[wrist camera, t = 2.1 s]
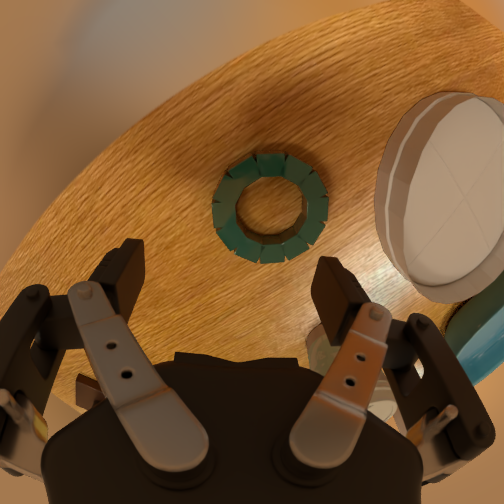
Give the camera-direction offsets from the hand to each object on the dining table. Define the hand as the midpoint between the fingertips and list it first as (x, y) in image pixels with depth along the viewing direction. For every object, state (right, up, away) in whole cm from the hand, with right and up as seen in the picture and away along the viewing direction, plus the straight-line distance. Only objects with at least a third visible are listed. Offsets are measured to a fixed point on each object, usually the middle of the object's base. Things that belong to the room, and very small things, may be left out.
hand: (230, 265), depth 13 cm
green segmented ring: (+2, +5, +11) cm, 12 cm away
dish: (+23, +7, +12) cm, 27 cm away
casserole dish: (+44, -7, +21) cm, 49 cm away
